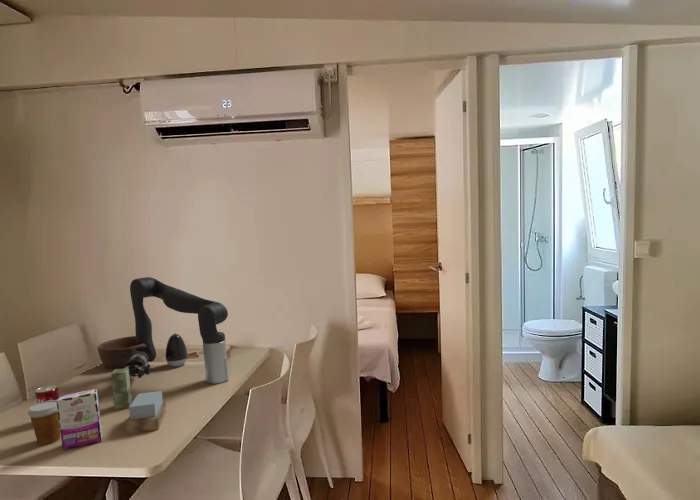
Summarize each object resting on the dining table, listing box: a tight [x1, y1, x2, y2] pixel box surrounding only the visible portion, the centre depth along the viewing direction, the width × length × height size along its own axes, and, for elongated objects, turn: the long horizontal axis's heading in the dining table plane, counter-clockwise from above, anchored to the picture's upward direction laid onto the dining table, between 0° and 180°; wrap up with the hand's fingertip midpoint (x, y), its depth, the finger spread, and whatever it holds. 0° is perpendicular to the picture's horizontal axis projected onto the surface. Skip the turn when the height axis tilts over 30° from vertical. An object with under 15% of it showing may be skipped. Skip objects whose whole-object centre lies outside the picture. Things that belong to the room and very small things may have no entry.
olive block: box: [110, 368, 133, 411], centre depth 183 cm, size 5×5×14 cm
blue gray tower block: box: [128, 390, 164, 420], centre depth 167 cm, size 8×12×4 cm, turn 10°
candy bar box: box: [56, 388, 104, 451], centre depth 154 cm, size 11×5×16 cm, turn 114°
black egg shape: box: [164, 333, 189, 368], centre depth 230 cm, size 10×10×15 cm
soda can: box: [34, 384, 60, 404], centre depth 174 cm, size 7×7×12 cm
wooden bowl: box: [96, 335, 147, 369], centre depth 241 cm, size 25×25×10 cm
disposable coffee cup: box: [27, 400, 61, 446], centre depth 158 cm, size 10×10×12 cm
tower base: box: [125, 400, 167, 435], centre depth 167 cm, size 10×15×4 cm, turn 12°
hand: (127, 377), depth 193 cm, fingers open, 8 cm apart
